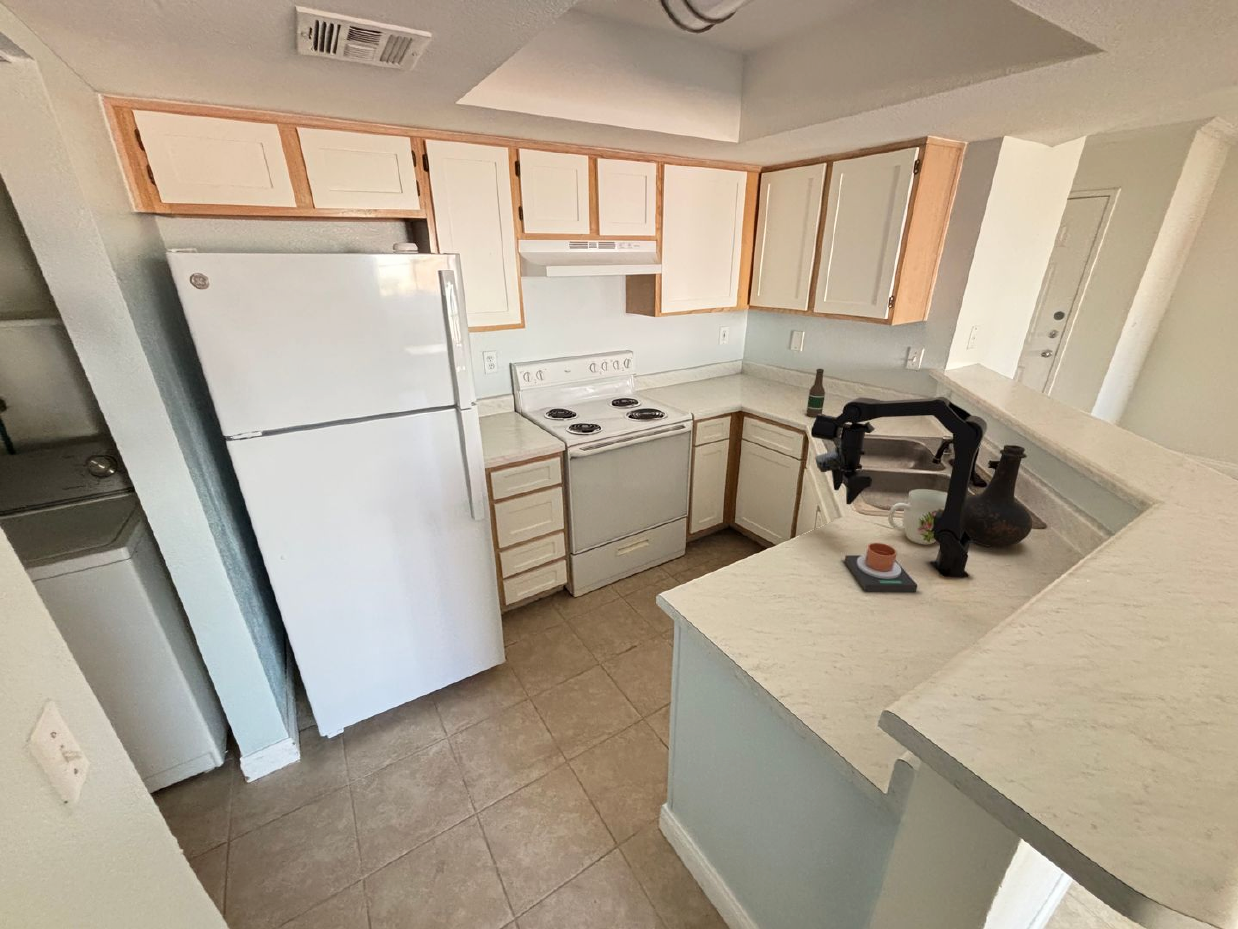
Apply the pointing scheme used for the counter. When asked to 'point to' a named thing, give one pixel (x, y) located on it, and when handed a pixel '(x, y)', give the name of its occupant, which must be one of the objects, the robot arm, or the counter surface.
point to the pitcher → (919, 514)
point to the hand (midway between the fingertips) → (842, 497)
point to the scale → (880, 576)
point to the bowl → (880, 556)
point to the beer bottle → (816, 396)
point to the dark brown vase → (999, 506)
